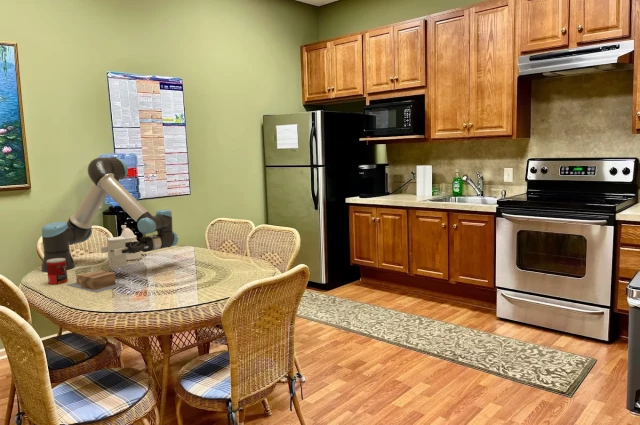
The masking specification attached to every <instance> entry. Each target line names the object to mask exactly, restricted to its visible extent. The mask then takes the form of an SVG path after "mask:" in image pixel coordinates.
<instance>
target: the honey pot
mask: <svg viewBox="0 0 640 425" xmlns="http://www.w3.org/2000/svg"><path fill="white" fill-rule="evenodd" d="M120 227H121V229H122V231H121V234H120V236H118V237H124V238H125V243H126V242H130V241H131V242H134V241H138V240H137V239H138V237H137V235H135V234H134V232H133V230H132V229H130V228H129V227H127V225H126V224H124V225H123V224H122V225H121V226H120ZM141 257H142V251H140V252H137V253H129V252H128V253H126V261H127V260H135V259H140V258H141Z"/></svg>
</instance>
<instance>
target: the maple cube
mask: <svg viewBox="0 0 640 425" xmlns="http://www.w3.org/2000/svg"><path fill="white" fill-rule="evenodd" d="M84 274H89V273H88V272H87V273H86V272H83V273H78V274H75V278H76V280H75V281H76V282H77V284H81V279H80V275H84Z"/></svg>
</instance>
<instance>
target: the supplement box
mask: <svg viewBox="0 0 640 425" xmlns="http://www.w3.org/2000/svg"><path fill="white" fill-rule="evenodd" d="M106 242H107V244H106V246H107V247H108V252H107V259H108V260H107V262H108V266H109V267H110V268H111V267H119V266H121V267H122V266H127V260H126V254H122V255H117V256H114V250H115V249H120V248H126V247H125V238H124V237H119V236H115V237H114V236H113V237H106Z"/></svg>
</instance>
